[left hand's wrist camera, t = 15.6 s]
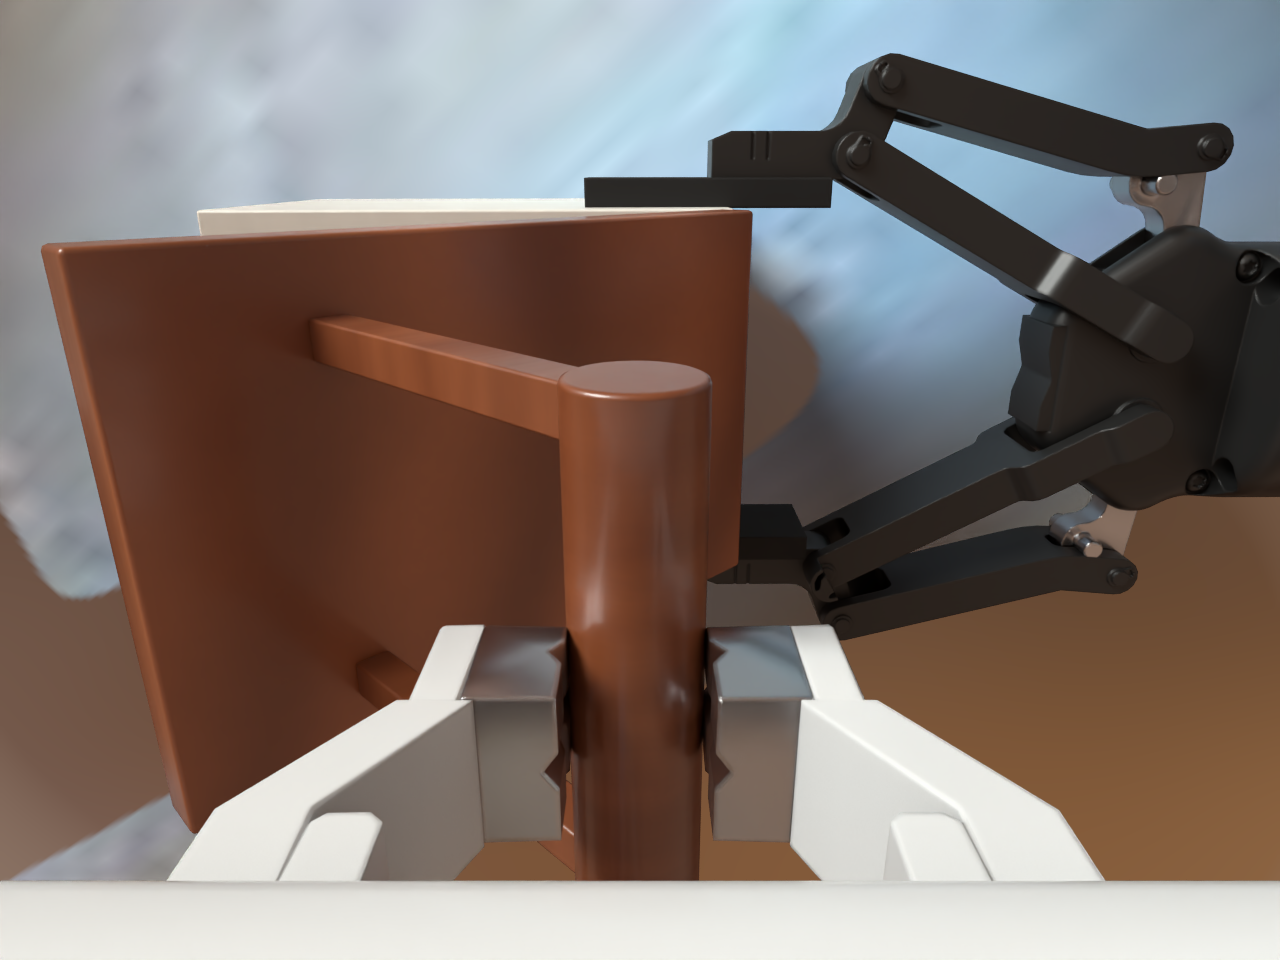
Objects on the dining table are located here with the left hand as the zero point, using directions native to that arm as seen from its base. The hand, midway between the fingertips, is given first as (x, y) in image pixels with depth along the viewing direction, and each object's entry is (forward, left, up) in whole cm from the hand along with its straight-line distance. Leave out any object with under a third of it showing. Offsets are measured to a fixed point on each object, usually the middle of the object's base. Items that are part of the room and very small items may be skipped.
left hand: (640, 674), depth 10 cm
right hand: (-1, 0, -16) cm, 16 cm away
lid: (-3, -1, -8) cm, 9 cm away
